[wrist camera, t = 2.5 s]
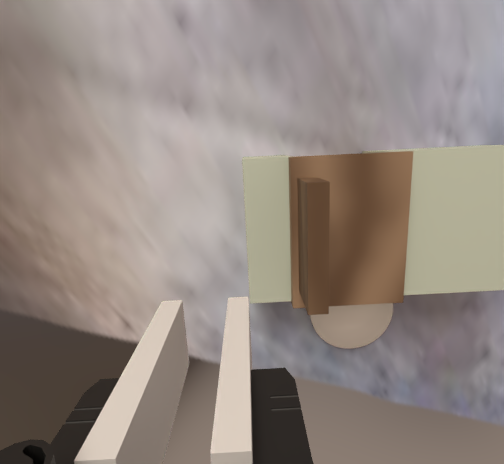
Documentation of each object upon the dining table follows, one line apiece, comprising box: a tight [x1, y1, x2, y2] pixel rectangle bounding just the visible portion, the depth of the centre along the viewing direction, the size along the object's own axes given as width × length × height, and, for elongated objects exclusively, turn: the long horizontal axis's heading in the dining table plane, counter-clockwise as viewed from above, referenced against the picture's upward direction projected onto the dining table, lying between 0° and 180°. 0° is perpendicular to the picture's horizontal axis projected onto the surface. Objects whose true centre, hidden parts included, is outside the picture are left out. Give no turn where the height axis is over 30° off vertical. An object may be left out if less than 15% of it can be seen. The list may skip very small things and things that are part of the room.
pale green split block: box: [242, 145, 504, 303], centre depth 31 cm, size 24×12×8 cm, turn 93°
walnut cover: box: [288, 151, 413, 315], centre depth 24 cm, size 9×12×5 cm
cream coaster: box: [310, 303, 393, 349], centre depth 37 cm, size 9×9×1 cm
